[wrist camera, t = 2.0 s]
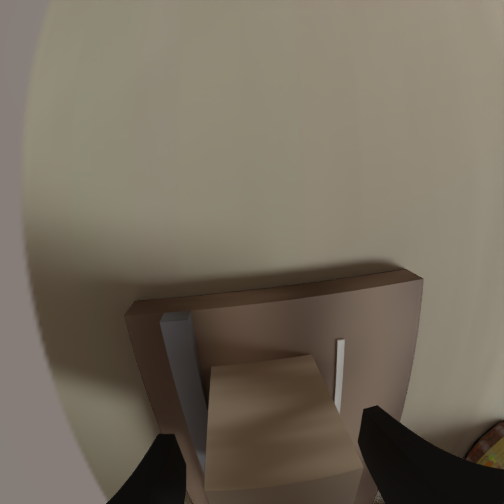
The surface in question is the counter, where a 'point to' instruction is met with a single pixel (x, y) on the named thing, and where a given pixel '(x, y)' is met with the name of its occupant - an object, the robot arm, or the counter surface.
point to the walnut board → (279, 351)
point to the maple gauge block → (277, 437)
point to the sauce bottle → (489, 448)
